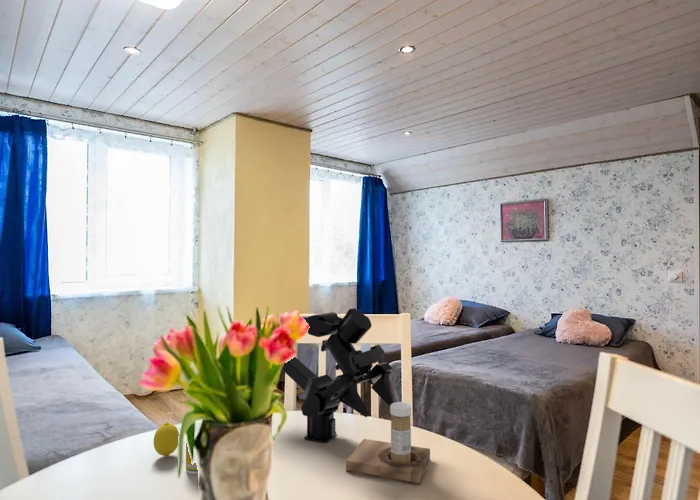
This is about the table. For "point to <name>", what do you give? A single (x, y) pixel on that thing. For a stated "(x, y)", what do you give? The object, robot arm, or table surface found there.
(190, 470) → the supplement bottle
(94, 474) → the table surface
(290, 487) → the table surface
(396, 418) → the sprinkles bottle
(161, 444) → the lemon
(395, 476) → the board
